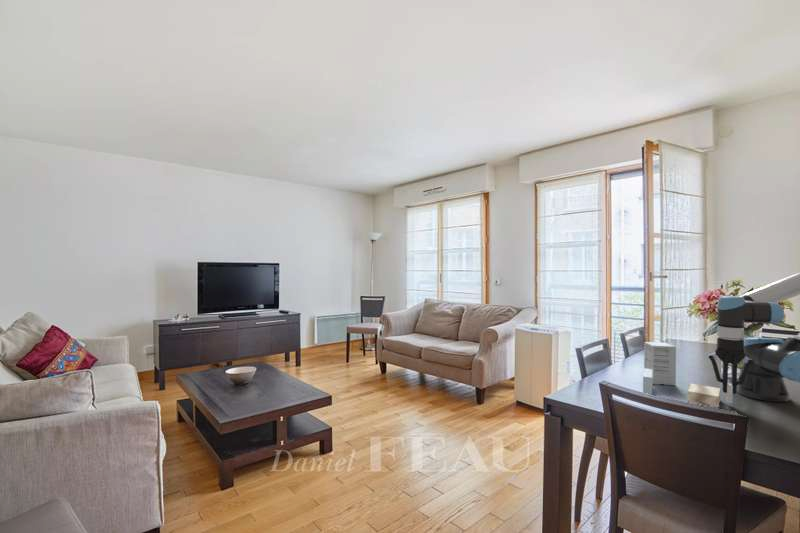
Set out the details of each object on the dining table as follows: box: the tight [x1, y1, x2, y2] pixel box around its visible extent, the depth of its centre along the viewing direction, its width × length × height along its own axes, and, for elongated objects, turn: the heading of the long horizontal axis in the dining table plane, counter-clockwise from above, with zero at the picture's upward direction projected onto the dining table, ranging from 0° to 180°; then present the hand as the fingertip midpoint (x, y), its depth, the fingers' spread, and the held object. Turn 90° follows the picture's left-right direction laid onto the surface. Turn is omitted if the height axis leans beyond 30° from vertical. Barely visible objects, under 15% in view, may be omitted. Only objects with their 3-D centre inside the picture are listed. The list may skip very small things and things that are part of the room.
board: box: [642, 367, 653, 395], centre depth 158 cm, size 3×14×8 cm, turn 146°
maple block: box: [687, 382, 721, 408], centre depth 147 cm, size 9×12×5 cm
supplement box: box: [643, 341, 677, 386], centre depth 172 cm, size 10×9×17 cm
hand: (729, 401), depth 143 cm, fingers closed
